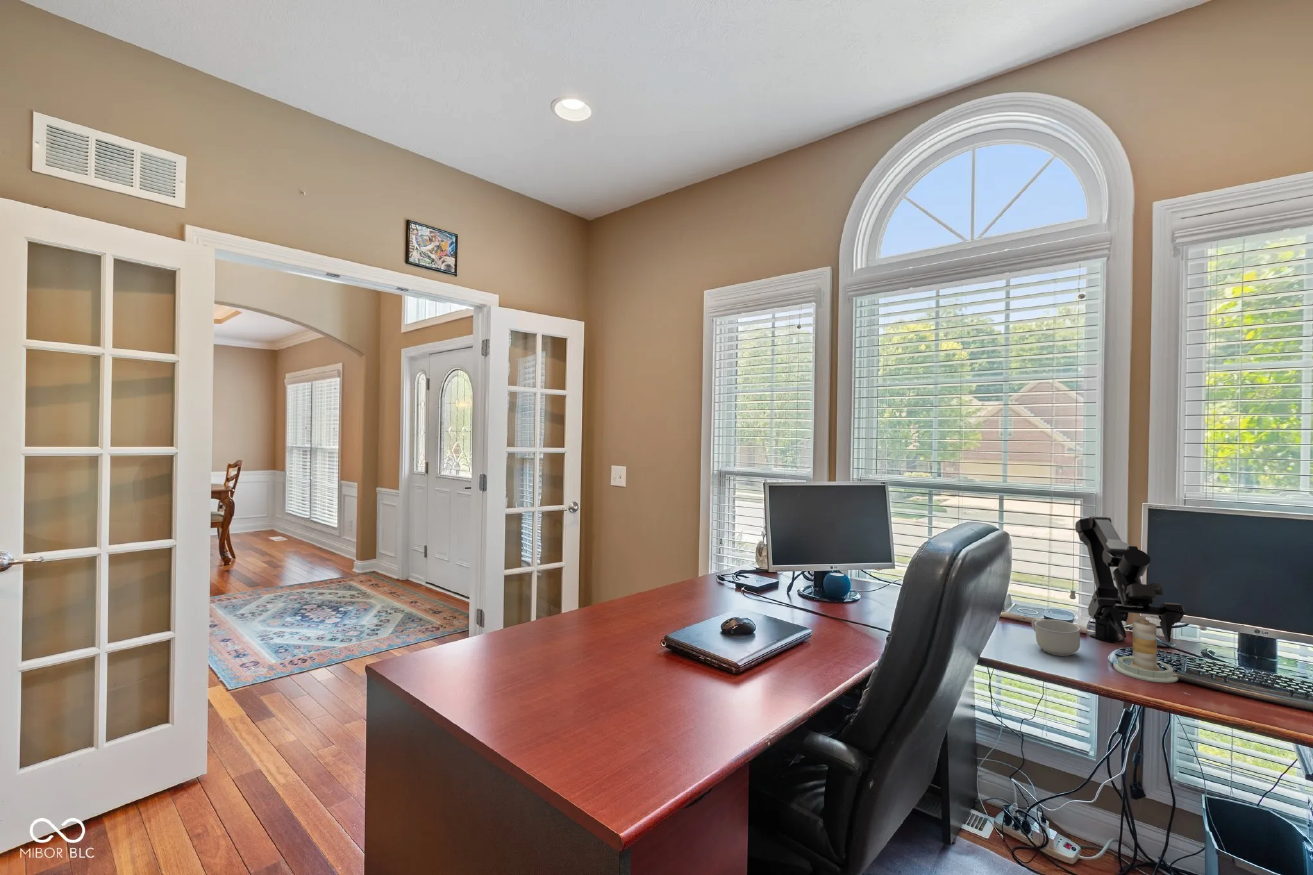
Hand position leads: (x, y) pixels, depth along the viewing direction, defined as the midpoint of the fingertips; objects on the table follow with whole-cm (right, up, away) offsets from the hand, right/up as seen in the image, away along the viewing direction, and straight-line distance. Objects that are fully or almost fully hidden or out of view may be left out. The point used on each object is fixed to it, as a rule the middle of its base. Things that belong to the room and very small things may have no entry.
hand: (1146, 639), depth 152 cm
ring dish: (+1, -9, +1) cm, 9 cm away
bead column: (+1, -8, +1) cm, 8 cm away
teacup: (-12, -9, +18) cm, 23 cm away
